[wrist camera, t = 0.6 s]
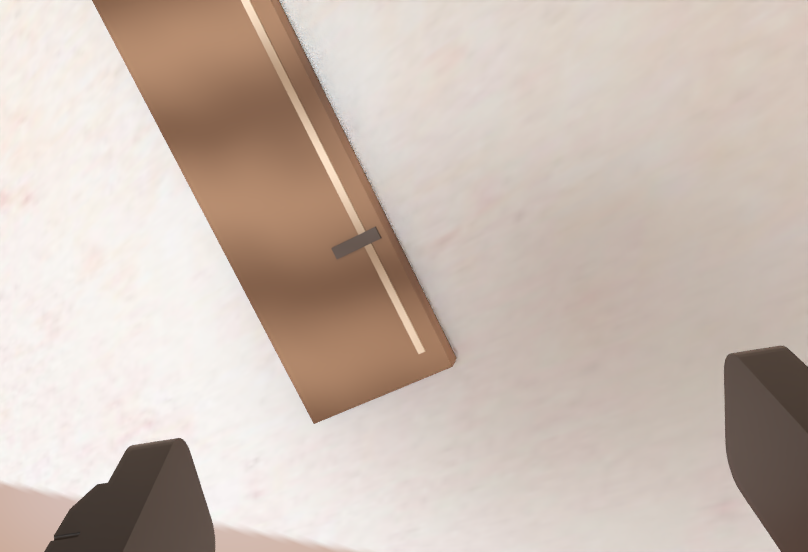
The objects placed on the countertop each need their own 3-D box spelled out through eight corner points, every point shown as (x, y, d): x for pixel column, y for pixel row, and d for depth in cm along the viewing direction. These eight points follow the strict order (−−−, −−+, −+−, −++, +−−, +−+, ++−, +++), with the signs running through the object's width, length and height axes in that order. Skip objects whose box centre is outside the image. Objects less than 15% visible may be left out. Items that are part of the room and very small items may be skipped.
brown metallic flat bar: (21, -162, 31) (1, -171, 29) (149, -260, 29) (132, -274, 28) (321, 414, 33) (313, 425, 32) (456, 358, 31) (452, 367, 30)
